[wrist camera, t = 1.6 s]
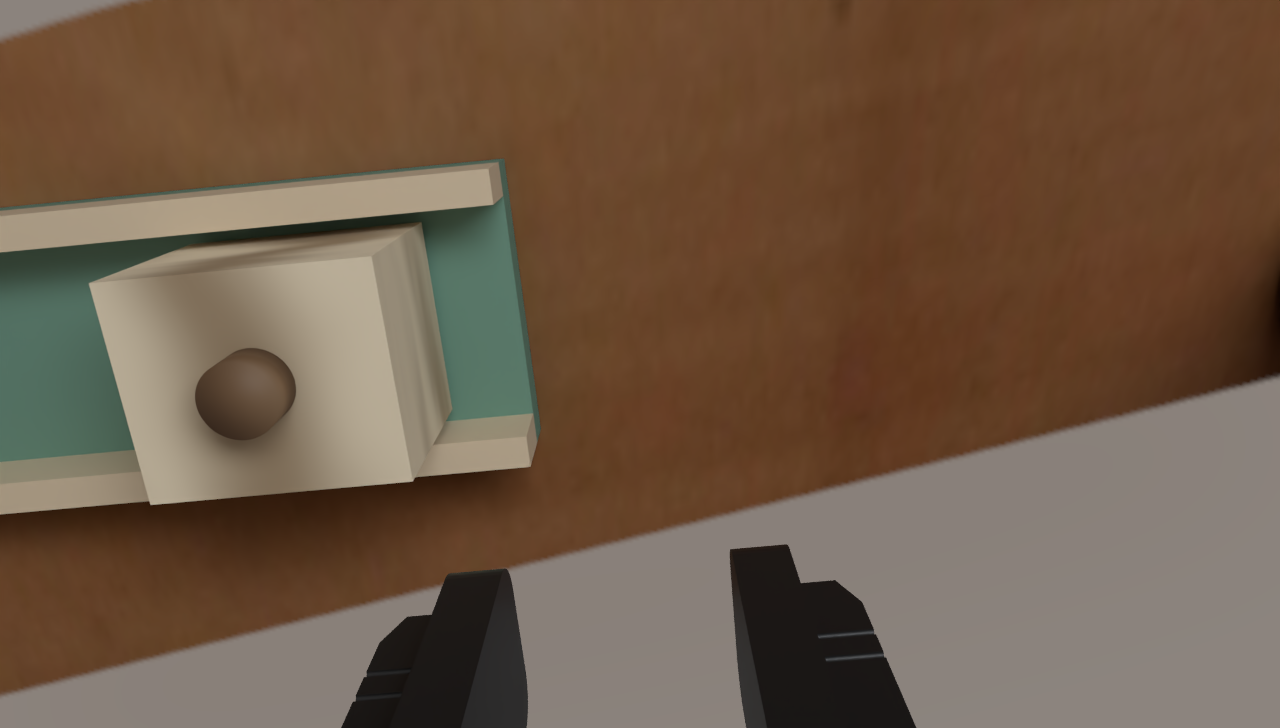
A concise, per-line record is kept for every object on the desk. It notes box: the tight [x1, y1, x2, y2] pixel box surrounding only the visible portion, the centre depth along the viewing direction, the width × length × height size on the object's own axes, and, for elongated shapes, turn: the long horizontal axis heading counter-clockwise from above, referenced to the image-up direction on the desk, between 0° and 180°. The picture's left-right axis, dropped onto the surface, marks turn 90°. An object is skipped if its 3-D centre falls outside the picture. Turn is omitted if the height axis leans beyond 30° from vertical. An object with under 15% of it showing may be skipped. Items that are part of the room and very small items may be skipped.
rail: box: [0, 159, 541, 514], centre depth 27 cm, size 24×9×6 cm, turn 95°
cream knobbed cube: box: [89, 222, 452, 505], centre depth 25 cm, size 7×6×7 cm
